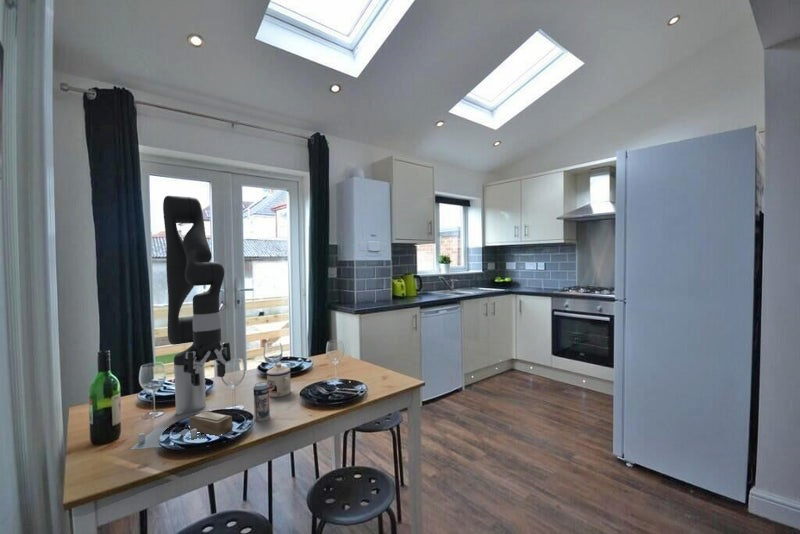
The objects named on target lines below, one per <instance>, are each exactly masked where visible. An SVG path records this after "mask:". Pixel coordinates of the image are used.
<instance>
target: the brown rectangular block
mask: <svg viewBox="0 0 800 534" xmlns="http://www.w3.org/2000/svg"><path fill="white" fill-rule="evenodd" d="M232 416H233V415H229V414H222V413H218V412H212V411H207V410H203V411H201V412H198V413H196V414H194V415H191V416H189V417H188V418H189V425H190V430H192V429H197V432H200V433H204V434H209V435H215V436H219V435H221V434H224V435H225V434H226V433H228V432H229V431H232V430H233V423H232V422H233V417H232Z"/></svg>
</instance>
